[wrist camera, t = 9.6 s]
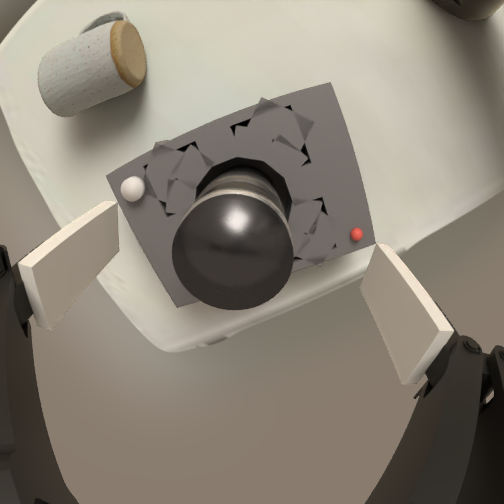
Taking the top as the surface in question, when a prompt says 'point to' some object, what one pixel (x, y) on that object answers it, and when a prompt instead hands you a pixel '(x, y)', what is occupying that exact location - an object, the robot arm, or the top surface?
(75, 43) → the ceramic mug
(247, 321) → the top surface
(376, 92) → the top surface
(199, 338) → the top surface
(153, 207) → the box with round hole
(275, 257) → the lens
